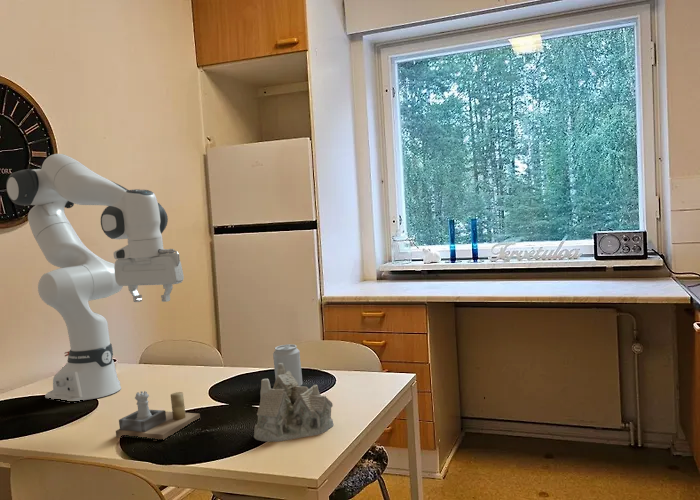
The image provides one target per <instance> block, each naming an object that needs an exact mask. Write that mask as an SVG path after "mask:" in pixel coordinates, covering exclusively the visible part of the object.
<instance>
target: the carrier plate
mask: <svg viewBox="0 0 700 500" xmlns="http://www.w3.org/2000/svg"><path fill="white" fill-rule="evenodd" d="M184 397H185V396H184V393H183V392H182V391H179V392H178V391H177V392H176V391H175V392H173V393H171V394H170V401H171V402H170V403H171V411H166V410H164V409H163V410H162V409H149V411H150V413H151V415H152V416H150V417H148V418H146V419H144V420H138V419H136V418H137V415H138V410H136V411H134V412H131V413H130V414H128V415H125V416H124V417H122V418H120V419H118V425H119V429H117V430H115V436H116V438H122V437H121V436H122V435H129V436H138V437H147V438H155V439H163V440H164V439H165V438H167V437H168V436H170V435H172V434H174V433H175V432H177V431H179V430H180V429H182V428H184V427H185V426H187V425H188V424H190V423H191V422H193V421H195V420H197V419H199V418H200V419H201V414H200V413H196V412H186V410H185V409H186V408H185V407H186V406H185V398H184Z"/></svg>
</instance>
